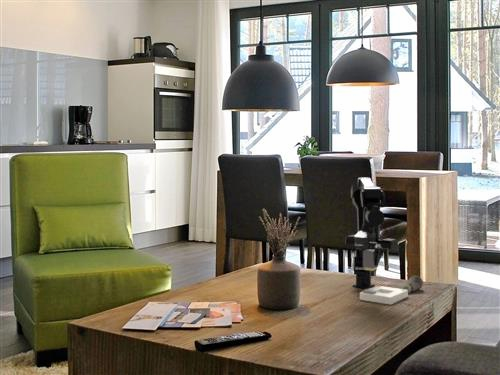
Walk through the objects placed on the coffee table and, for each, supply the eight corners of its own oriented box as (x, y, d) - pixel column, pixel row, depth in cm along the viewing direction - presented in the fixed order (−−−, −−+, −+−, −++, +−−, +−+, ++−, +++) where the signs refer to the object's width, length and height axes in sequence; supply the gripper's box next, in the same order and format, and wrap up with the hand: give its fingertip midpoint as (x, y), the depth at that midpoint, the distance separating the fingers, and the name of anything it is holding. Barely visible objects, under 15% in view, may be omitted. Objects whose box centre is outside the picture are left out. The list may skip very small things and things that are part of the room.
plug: (368, 268, 255) (368, 249, 254) (378, 269, 252) (378, 250, 252) (362, 269, 252) (363, 250, 251) (372, 271, 249) (372, 251, 249)
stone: (408, 296, 258) (425, 282, 257) (398, 285, 259) (415, 271, 259) (409, 297, 267) (426, 284, 266) (400, 286, 269) (416, 273, 268)
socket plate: (377, 292, 260) (377, 283, 260) (407, 296, 253) (407, 288, 253) (359, 299, 249) (359, 290, 249) (390, 304, 242) (390, 295, 242)
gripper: (337, 222, 250) (336, 265, 252) (383, 226, 238) (382, 272, 240) (353, 219, 259) (353, 261, 260) (399, 223, 247) (398, 267, 248)
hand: (370, 265), depth 252 cm, fingers closed on plug, 4 cm apart
